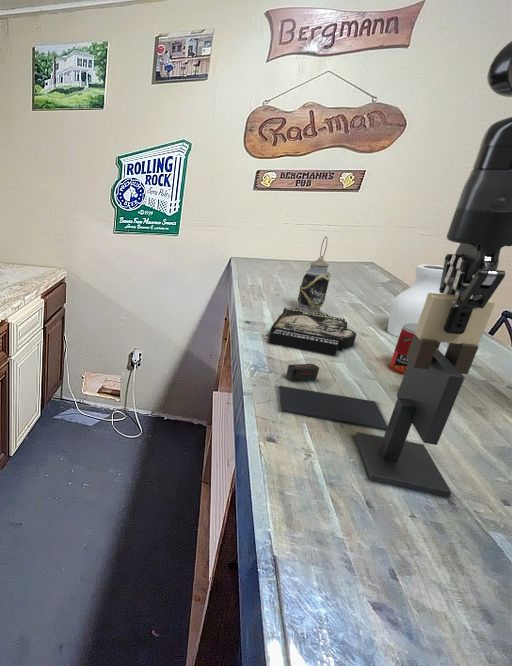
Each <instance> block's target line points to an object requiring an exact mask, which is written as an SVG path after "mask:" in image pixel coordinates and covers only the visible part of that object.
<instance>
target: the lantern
mask: <svg viewBox="0 0 512 666" xmlns="http://www.w3.org/2000/svg"><path fill="white" fill-rule="evenodd" d="M325 239H326V240H328V237H327V236H324V238H323V239H322V242H321V246H320V250H319V251H320V252H319V255H320V256H319V257H318V258H317V259H316V260H314V261H311V262H310V266H309V269H308V270H305V274H304V275H303V277H302V282H301V284H300V286H299V293H298V296H297V302H298V306H297V309H298V310H304V311H311V312H317V313H321V308H323V305H324V304H325V301H326V296H327V291H328V287H329V284H330V283H329V282H330V279H331V276H332V275H331V272H328V267H329V266H330V264H328V263H327V262H326V261H325V257H324V256H325V254H326V251H327V247H328V241H325ZM324 241H325V242H326V243H325V248H324V252H323V255H322V249H323V244H324Z"/></svg>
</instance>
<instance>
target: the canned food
mask: <svg viewBox="0 0 512 666" xmlns="http://www.w3.org/2000/svg"><path fill="white" fill-rule="evenodd" d="M417 325H418V324H415V323H410V324H405V325H403V328H402V330H401V333H400V336H399V337H398V339H397V341H396V345H395V348H394V351H393V354H392V357H391V360H390V364H389V365H390V367H389V368H390V369H391V370H392V371H393V372H395V373H397V374H400V375H403V376H404V373H405V371H406V368H407V365H408V362H409V360H408V359H407V358H406V356H407V353H408V350H409V347H410V344H411V341H412V338H413V335H414V332H415V331H416V328H417ZM441 343H442V342H438V344H437V347H436V348H437V349H438V350H439V348H440V345H441Z"/></svg>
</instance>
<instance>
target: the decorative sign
mask: <svg viewBox="0 0 512 666" xmlns="http://www.w3.org/2000/svg"><path fill="white" fill-rule="evenodd" d="M268 337H269V341H268V344H269V345H273V346H279V347H286V348H290V349H295V350H301V351H306V352H311V353H316V354H322V355H327V356H330V357H336V356H337V355H336V354H337V352H343V350H346V349H350V348H353V347H354V345H355V341H356V337H357V332H356V331H354V330H352V329H350V328H348V321H346V319H345V318H343V317H335V316H332V315H329V314H328V313H324V312H319V313H317V312H311V311H304V310H298V308H297V309H296V308H292V307H284V308H283V311H282V313H281V314H280V316H279V317H278V318H277V319H276V321H274V323H273V324H272V326H271V327H270V332H269V336H268Z"/></svg>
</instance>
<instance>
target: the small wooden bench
mask: <svg viewBox="0 0 512 666" xmlns="http://www.w3.org/2000/svg"><path fill="white" fill-rule="evenodd" d="M454 296H455V295H449V294H436V293H428V295H427V298H426V301H425V304H424V307H423V310H422V313H421V316H420V319H419V322H418V325H417V328H416V331H415V332H414V335H413V338H412V341H411V344H410V347H409V350H408V353H407V356H406V358H407V359H408V360H409V362H410V363H411V364H412V366H413V367H414V368H422V369H429V366H430V363H431V361H432V358H433V355H434V352H435V350H436V347H437V344H438V342H441V343H447V344H448V346H447V349H446V351H445V354H444V356H445V357H446V358H447V359H448V360H449V361H450V362H451V363H452V364H453V365H454V367H455V368H456V369H457V370H458V371H459V372H460V373H461V374H462V375H468V374H469V372H470V369H471V367H472V364H473V362H474V359H475V356H476V355H477V352H478V350H479V345H480V342H481V339H482V337H483V335H484V332H485V329H486V327H487V325H488V322H489V320H490V317H491V314H492V312H493V309H494V307H495V305H496V302H495V301H493V300H491V298H490V299H489V300H488V302H487V303H486V305H485V306H484V308H482V309H481V308H477V309H475V310H474V309H473V311H472V314H471V316H470V319H469V321H468V324H467V326H466V329H465V332H464V333H463V334H452V333H446V332H445V331H444V326H445V323H446V320H447V318H448V315H449V312H450V309H451V307H452V302H453V299H454ZM472 296H473V295H472ZM472 296H471V299H472Z"/></svg>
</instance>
